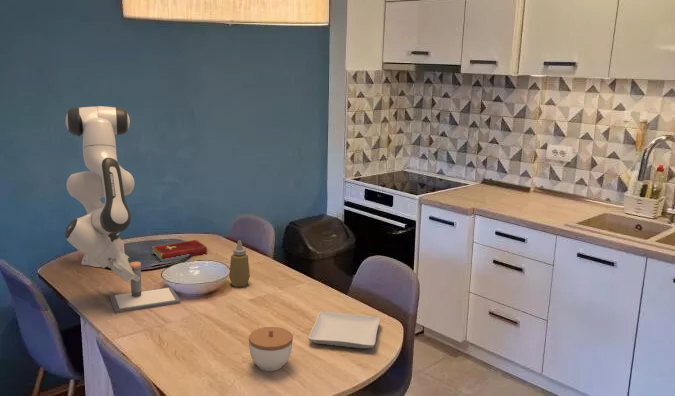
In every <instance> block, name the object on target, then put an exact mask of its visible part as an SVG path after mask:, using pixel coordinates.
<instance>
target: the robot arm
mask: <svg viewBox="0 0 675 396" xmlns="http://www.w3.org/2000/svg"><path fill="white" fill-rule="evenodd" d="M130 119H131V117H130V116H129V113H128V111H127V110H126V109H125V108H124V107H120V106H116V107H115V106H106V105H105V106H104V105H102V106H101V105H97V106H84V107H83V106H82V107H79V106H76V107H75V106H74V107H71V108H69V109H68V110H67V112H66V116H65V126H66V128H67V130H68V133H70V134H72V135H74V136H76V137H77V136H78V137H81V136H82V157H83V158H82V159H83V162H84V165H85V167H86V168H87V169H88V170H89V171H79V172H75V173H72V174H70V176H69V177H68V178H67V181H66V190H67V193H68V194H69V195H70V196H71V197H72V198H74V199H76V200H77V201H78V202H79V203H80V204H82V205H83V207H84V209H85V210H86V211H85V212H86V213H87V214H85V215H83V216H82V217H79V218H78V217H77V218H74V219H73V220H71V221H70V223H69V224H68V226H67V227H66V229H65V232H64V237H65V239H66V240H67V242H68V243H69V244H70V245H71V246H72V247H73V248H75V249H76V250H77V251H79V252H80V253H82V254H84V255H83V256H82V258H81V259H82V260H81V262H80V263H81V264H80V265H82V266H90V267H95V268H103V269H105V268H109V269H111V271H112V272H113V273H115V274H116V275H117V276H118V277H119V278H121V279H122V280H123V281H124V282H127V283H128V282H131V279H133V280H135V281H136V282H138V281H139V280H140V277H139V276H138V275H137V274H135V273H134V272H133V270H132V268H131V266H130V261H129V259H130V257H129V256H128V255H127V254H126V253H125V244H124V241H123V240H122V239H121V238H120V233H122V232H124V231H125V230H126V229H128V228H129V226H130V224H131V223H132V222H131V221H132V214H131V211H130V209H129V206H128V203H127V201H126V197H125V196H128V195H130V194H131V193H132V192H133V191H134V188H135V182H136V181H135V178H134V177H133V175H132V173H130V172H129V171H127V170H126V169H124V168H123V167H122V166H121V164H120V163H119V161H118V155H117V145H116V144H117V143H116V136H120V135H124V134H126V133H127V132H128V131H129V130H128V129H129V128H130V126H131V125H130V124H131V120H130ZM115 135H116V136H115ZM102 198H104V200H105V201H104V202H102V201H101V199H102ZM128 258H129V259H128Z"/></svg>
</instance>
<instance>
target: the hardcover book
mask: <svg viewBox="0 0 675 396" xmlns="http://www.w3.org/2000/svg"><path fill="white" fill-rule="evenodd" d="M151 249H152V253H153V252H154V253H155V254H156V255H158V256H159V257H160V258H161V259H165V258H171V257H176V256H181V255H186V254H191V255H192V256H194V257H198V255H199V256H204V255H203V254H205V255H208V246H207V245H205V244H204V243H203V242H201V241H200V240H198V239H191V240H186V241H179V242H173V243H167V244H159V245H155V246H154V245H152V246H151Z"/></svg>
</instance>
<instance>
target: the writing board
mask: <svg viewBox="0 0 675 396" xmlns="http://www.w3.org/2000/svg"><path fill="white" fill-rule="evenodd" d="M170 287H171V286H168V287H162V288H152V289H146V290H142V291H141V295H140V296H136V297H135V296H132V294H131V292H125V293H118V294H111V295H109V299H110V301H111V304H112V307H113V310H114V313H115V314H119V313H121V314H122V313H125V312H132V311H139V310H146V309H153V308H159V307H166V306H172V305H178V304H181V299H180V298H179V296H178V293H176V291H175V290H174V288H173V287H172V288H173V289H172V288H170Z"/></svg>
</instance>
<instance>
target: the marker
mask: <svg viewBox="0 0 675 396" xmlns="http://www.w3.org/2000/svg"><path fill="white" fill-rule="evenodd" d="M129 264H130V266H131V268H132V270H133V272H134V273H135V274H137V275H138V276H139V277H140V280H139V281H138V282H136V281H135V280H133V279H131V280H130V291H131V292H130V293H131V294H132V296H135V297H136V296H140V295H141V291H143V290H142V289H143V288H142V270H141V269H142V264H141V262H140V261H131V262H129Z"/></svg>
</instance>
